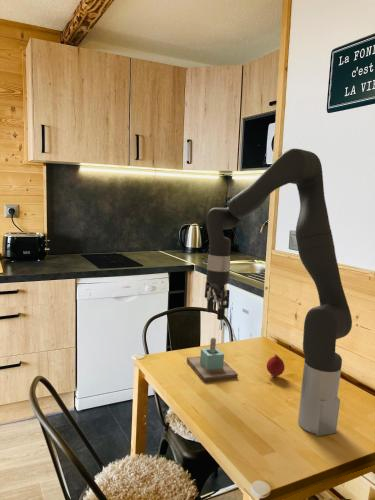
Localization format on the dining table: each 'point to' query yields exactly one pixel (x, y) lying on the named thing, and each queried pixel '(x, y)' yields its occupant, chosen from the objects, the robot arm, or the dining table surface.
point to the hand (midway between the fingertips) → (215, 315)
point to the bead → (212, 359)
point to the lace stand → (215, 373)
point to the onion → (275, 366)
